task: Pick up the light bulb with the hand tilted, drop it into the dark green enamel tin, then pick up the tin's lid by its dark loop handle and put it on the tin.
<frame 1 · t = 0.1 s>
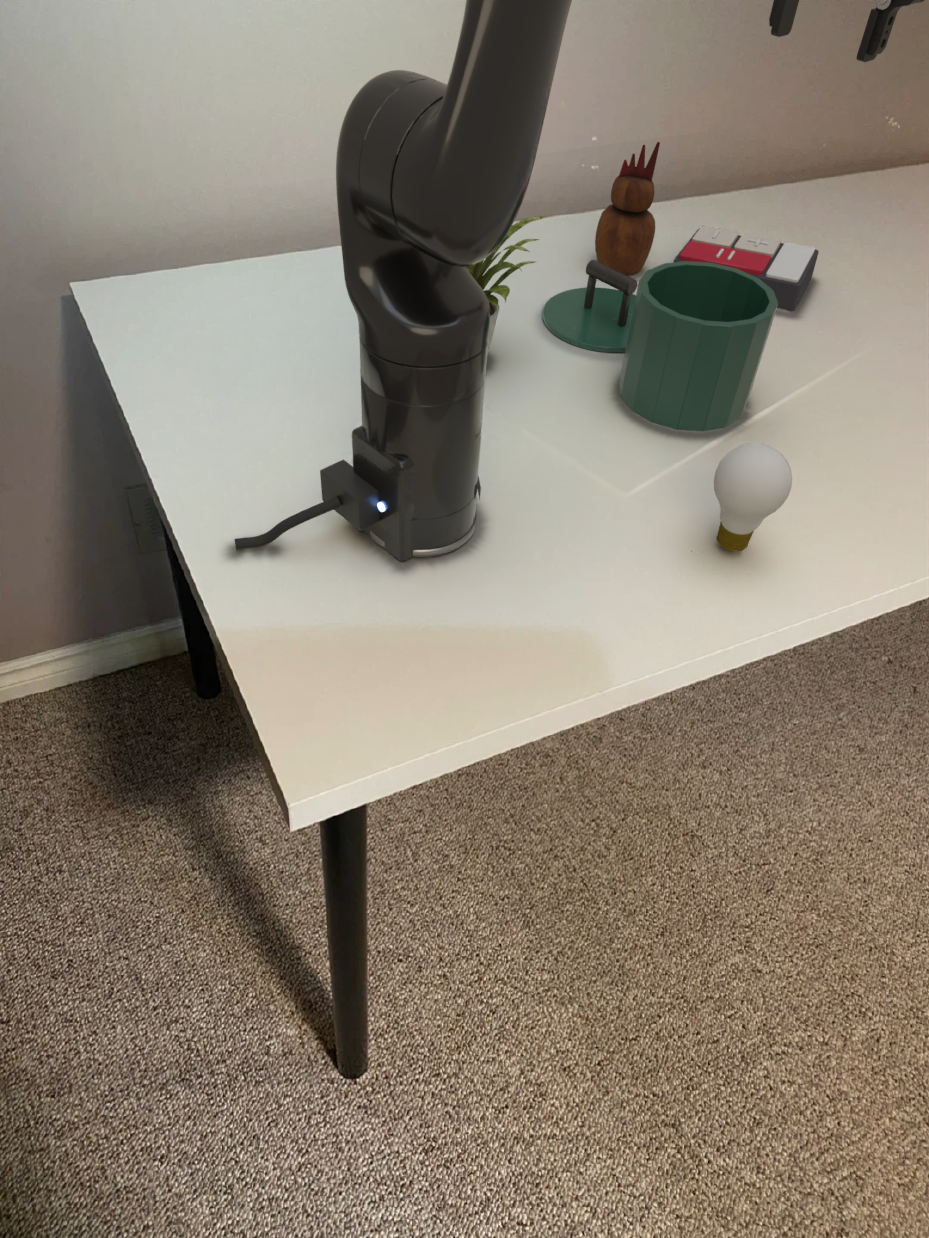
hand: (821, 47, 79), 29 cm above the table, tool pointing down, fingers open, 8 cm apart
calculator: (740, 283, 113), on the table
lid: (603, 321, 103), point 1 cm above the table
wooden figurine: (618, 272, 113), on the table
house plant: (473, 365, 96), on the table
tin: (680, 399, 93), on the table
light bulb: (729, 550, 78), on the table
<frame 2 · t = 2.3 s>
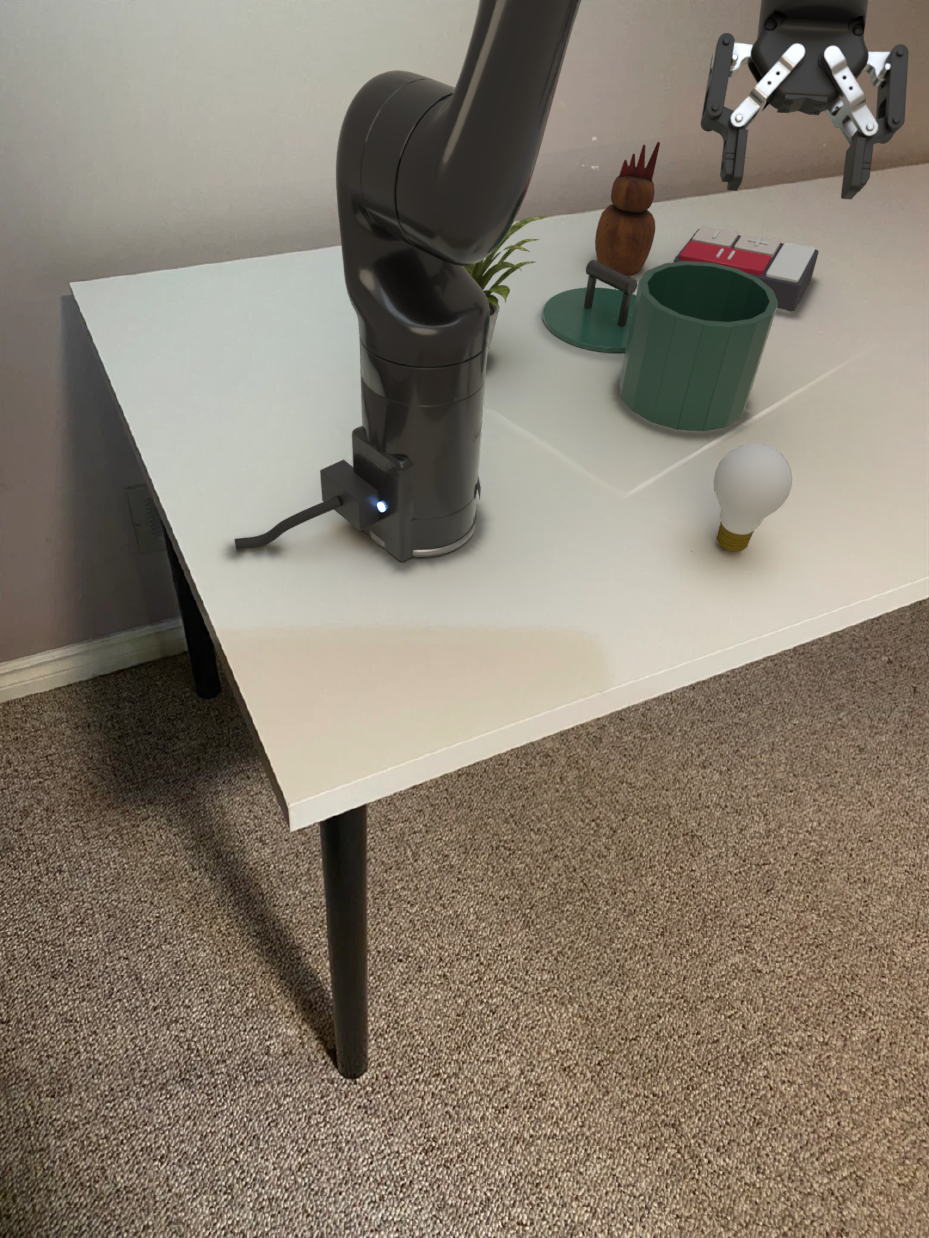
hand: (792, 191, 69), 24 cm above the table, tool tilted 45°, fingers open, 8 cm apart
nothing on the table moved.
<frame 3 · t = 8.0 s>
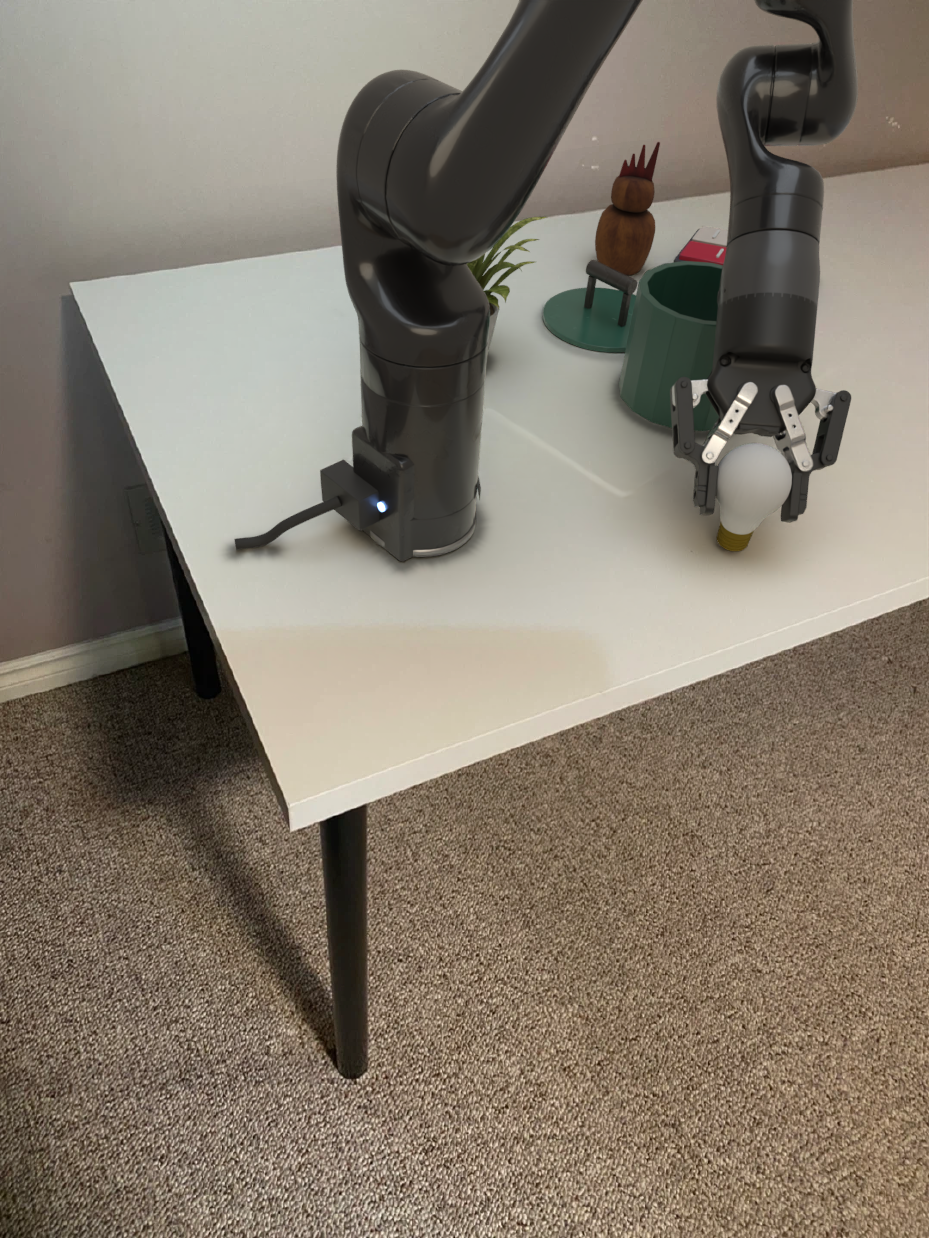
hand: (748, 517, 73), 5 cm above the table, tool tilted 45°, fingers closed on light bulb, 6 cm apart
light bulb: (729, 550, 78), on the table, touching gripper
everything else where it was.
when the fingers open (13 cm above the table, at t = 15.9 s): light bulb drops 7 cm, resting on tin.
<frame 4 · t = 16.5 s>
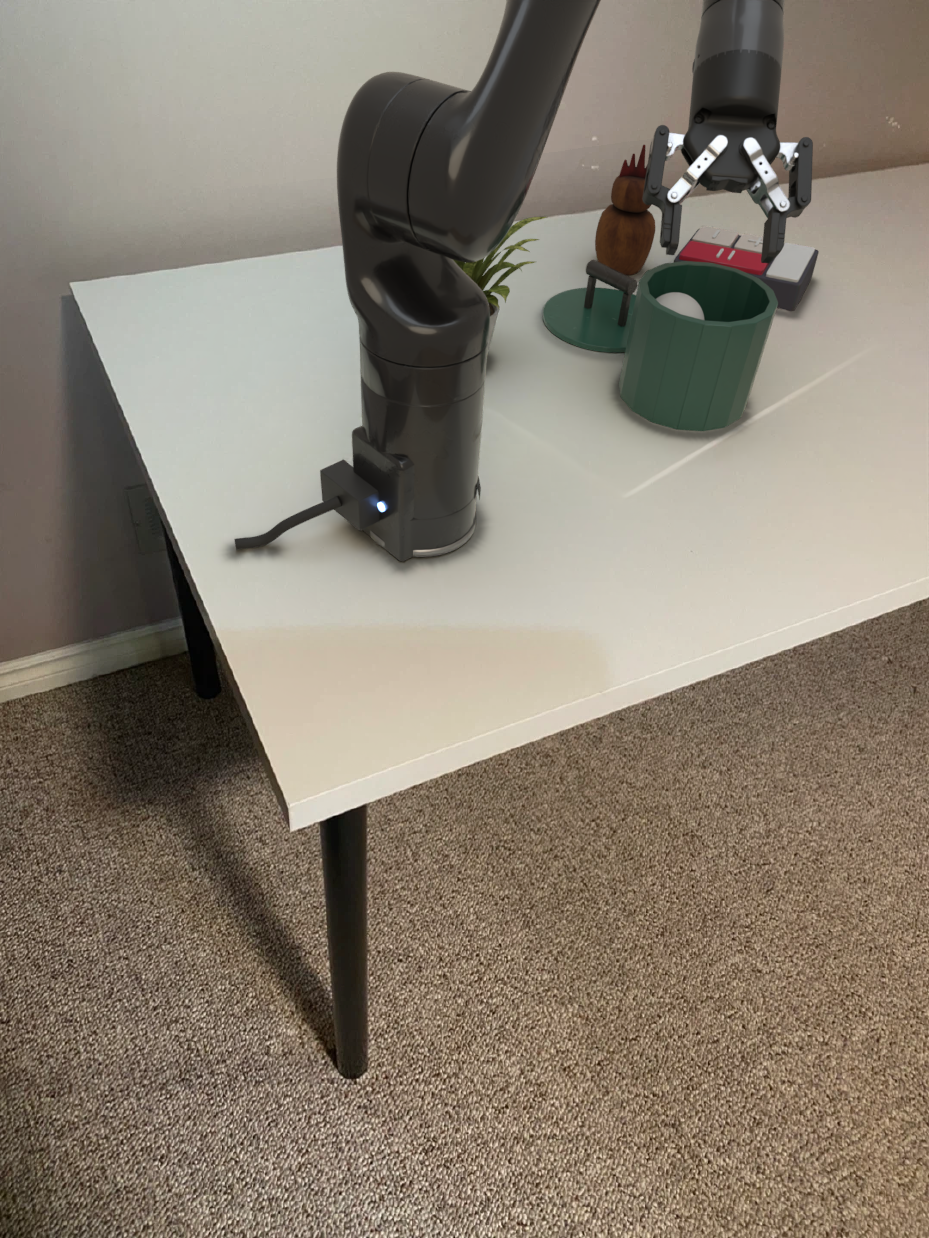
hand: (720, 256, 81), 15 cm above the table, tool tilted 45°, fingers open, 8 cm apart
light bulb: (676, 392, 93), point 1 cm above the table, touching tin
everything else where it was.
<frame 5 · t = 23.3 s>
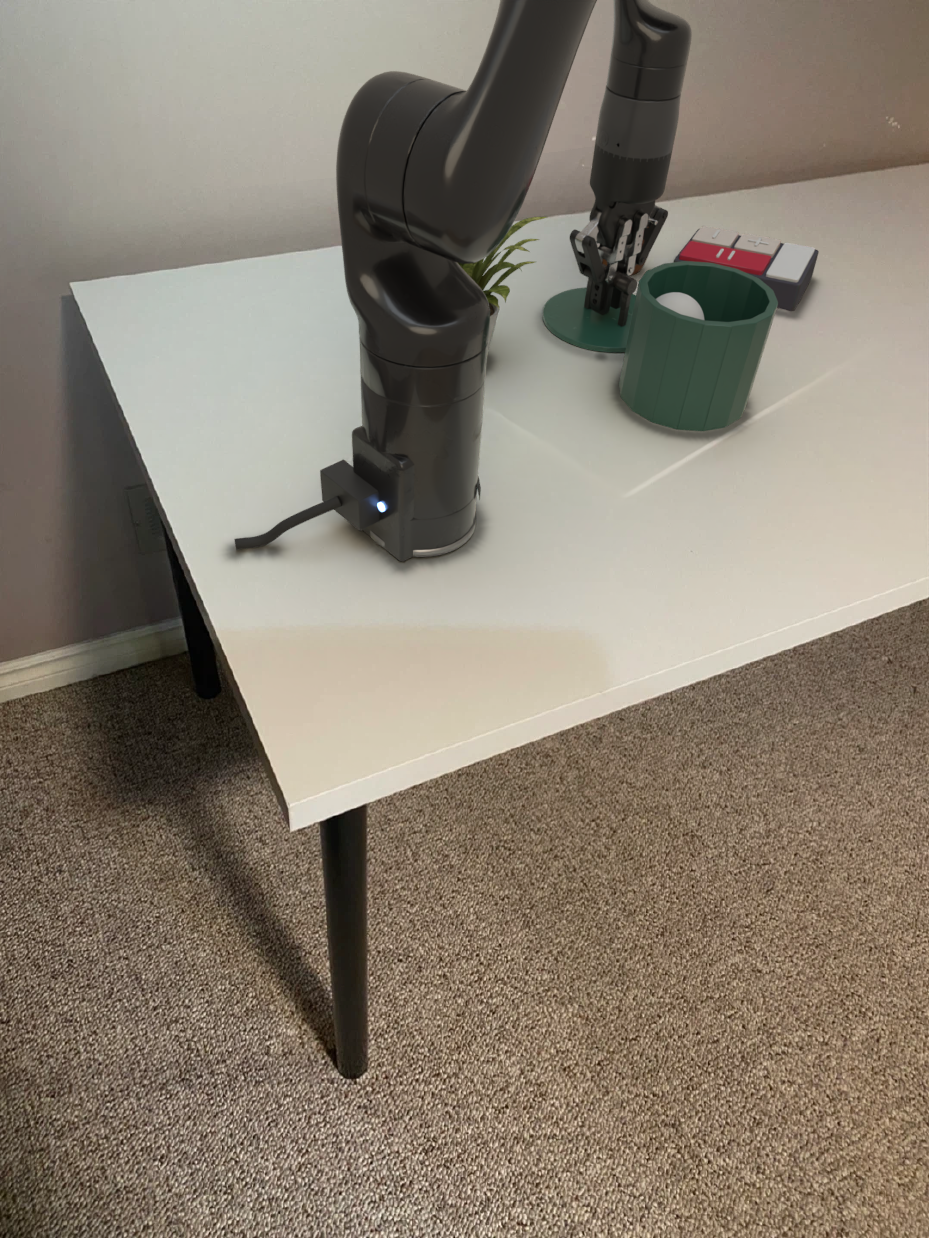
hand: (606, 308, 102), 2 cm above the table, tool pointing down, fingers closed on lid
lid: (603, 321, 103), point 1 cm above the table, touching gripper
everything else where it was.
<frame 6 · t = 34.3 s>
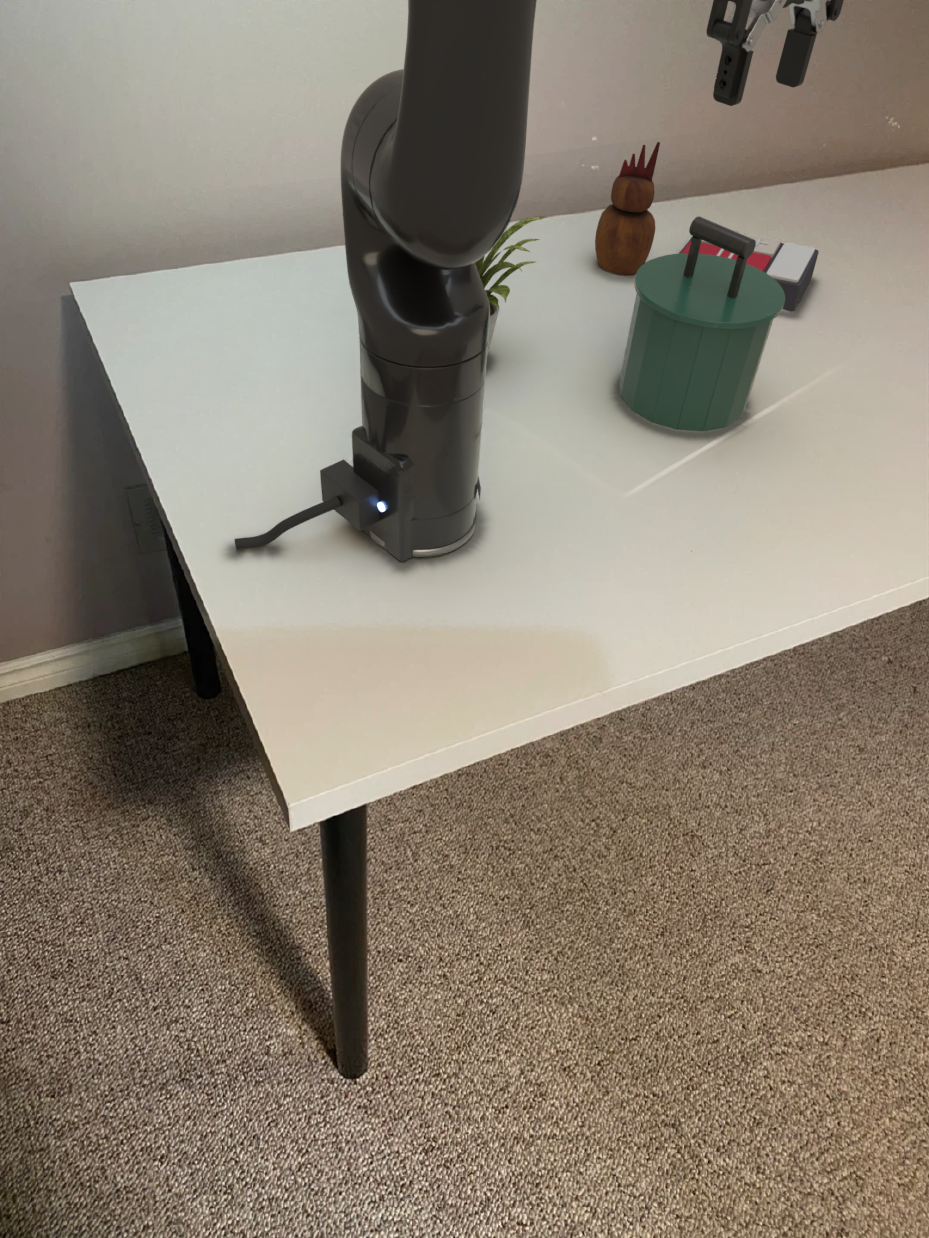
hand: (758, 93, 73), 28 cm above the table, tool pointing down, fingers open, 8 cm apart
lid: (708, 292, 85), point 11 cm above the table, touching tin
everything else where it was.
at the end: light bulb inside the target area in the tin (0.6 cm from its centre), point 0.7 cm above the tin's base; lid 0.1 cm off-centre on the tin, point 11.5 cm above the tin's base; lid tilted 0° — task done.
